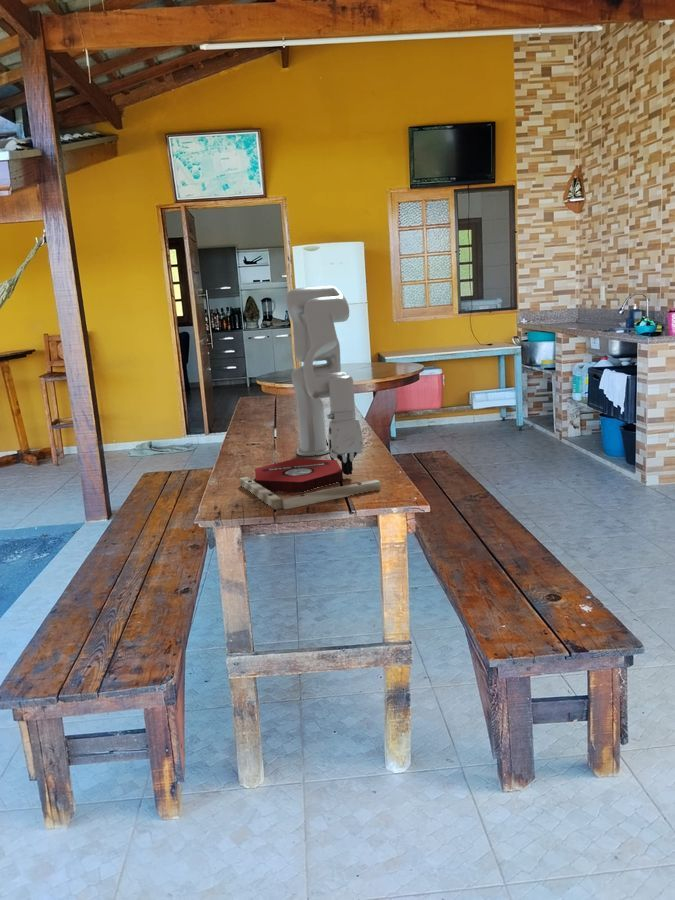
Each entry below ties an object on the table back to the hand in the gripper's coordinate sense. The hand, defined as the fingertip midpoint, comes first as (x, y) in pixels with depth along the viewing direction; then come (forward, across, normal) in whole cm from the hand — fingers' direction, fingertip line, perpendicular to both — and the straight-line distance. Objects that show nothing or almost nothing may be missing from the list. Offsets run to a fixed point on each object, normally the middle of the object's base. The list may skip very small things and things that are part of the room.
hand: (347, 473), depth 228 cm
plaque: (+2, -13, +9) cm, 16 cm away
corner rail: (+1, -14, -2) cm, 14 cm away
